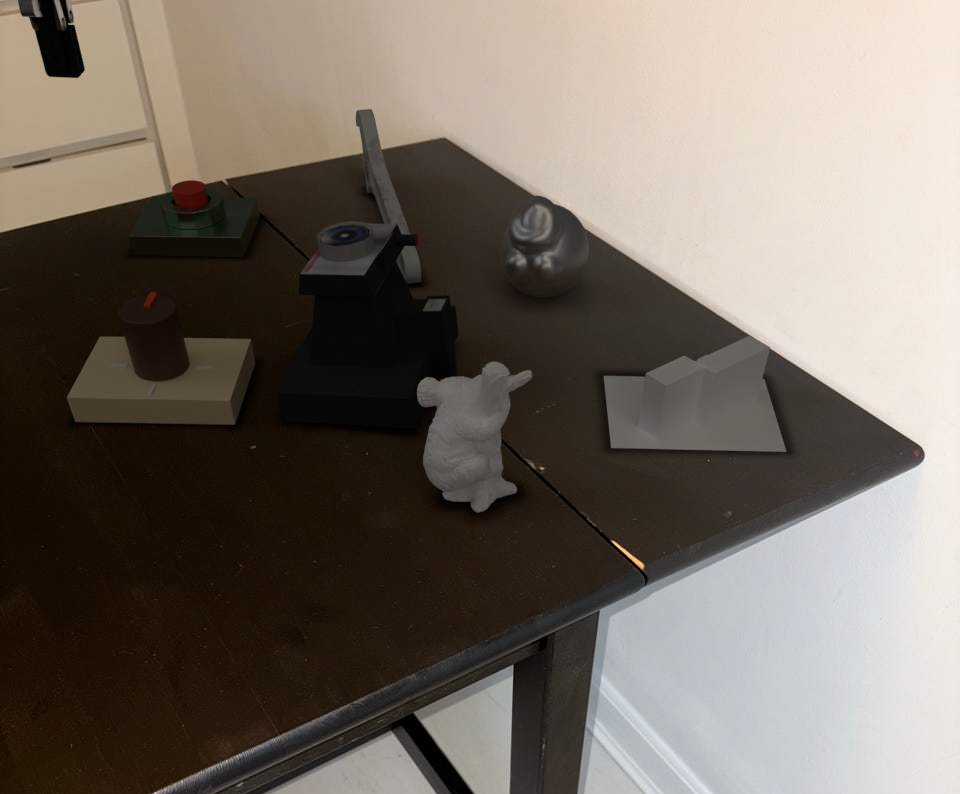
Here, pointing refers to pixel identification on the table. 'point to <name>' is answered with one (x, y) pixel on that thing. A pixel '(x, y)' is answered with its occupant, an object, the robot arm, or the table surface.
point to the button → (190, 194)
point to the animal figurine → (469, 434)
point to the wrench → (385, 191)
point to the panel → (164, 385)
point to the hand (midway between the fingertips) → (66, 74)
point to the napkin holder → (697, 404)
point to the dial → (154, 337)
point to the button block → (195, 227)
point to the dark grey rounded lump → (544, 248)
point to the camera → (366, 333)
